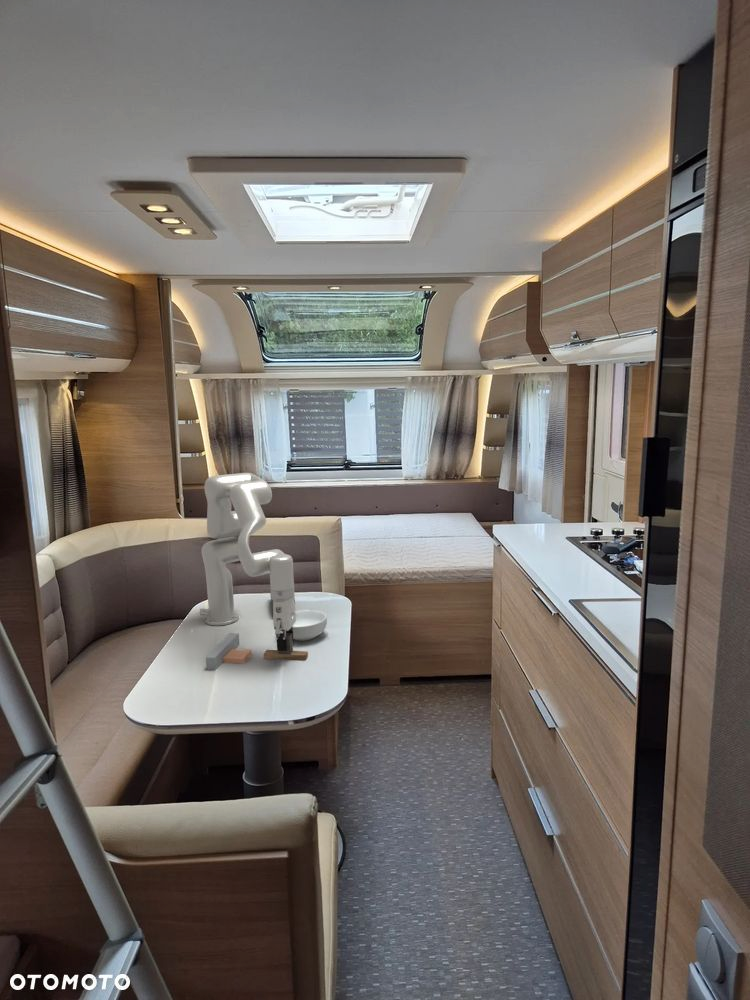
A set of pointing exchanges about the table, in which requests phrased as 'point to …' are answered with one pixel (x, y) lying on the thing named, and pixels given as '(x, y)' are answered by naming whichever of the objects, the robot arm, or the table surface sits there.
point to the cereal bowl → (308, 624)
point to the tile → (237, 656)
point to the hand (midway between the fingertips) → (285, 645)
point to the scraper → (286, 652)
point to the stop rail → (222, 651)
